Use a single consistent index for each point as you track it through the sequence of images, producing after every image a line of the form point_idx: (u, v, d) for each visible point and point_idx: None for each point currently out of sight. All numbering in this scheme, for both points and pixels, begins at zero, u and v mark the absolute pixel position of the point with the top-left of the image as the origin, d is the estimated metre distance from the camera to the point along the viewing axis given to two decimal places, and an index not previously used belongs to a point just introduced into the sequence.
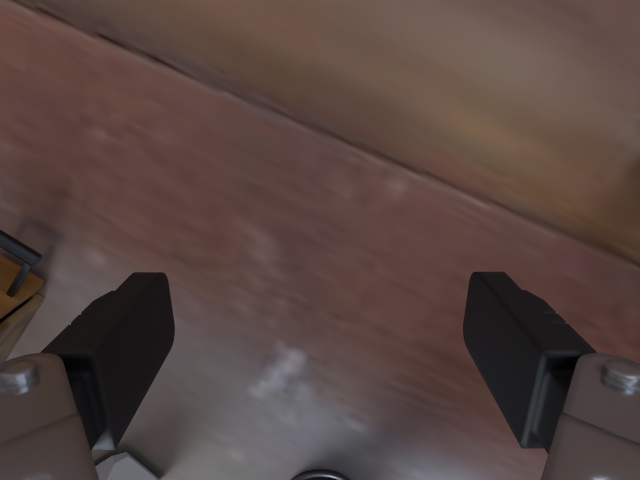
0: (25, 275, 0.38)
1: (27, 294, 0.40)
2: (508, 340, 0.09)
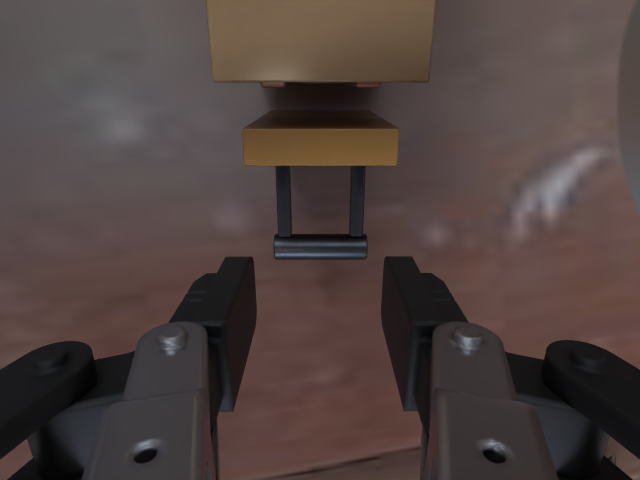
0: None
1: None
2: (398, 315, 0.10)
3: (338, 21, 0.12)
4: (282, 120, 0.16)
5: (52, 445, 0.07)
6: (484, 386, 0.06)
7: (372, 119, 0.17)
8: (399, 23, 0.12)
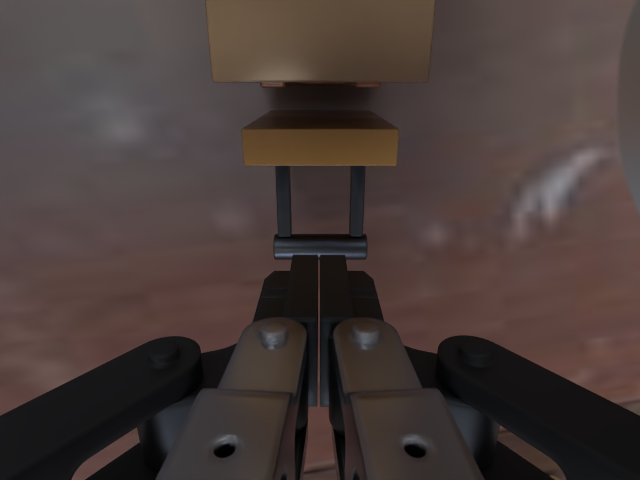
0: None
1: None
2: None
3: (337, 21, 0.12)
4: (282, 120, 0.16)
5: (166, 438, 0.07)
6: (365, 380, 0.06)
7: (372, 119, 0.16)
8: (398, 23, 0.12)
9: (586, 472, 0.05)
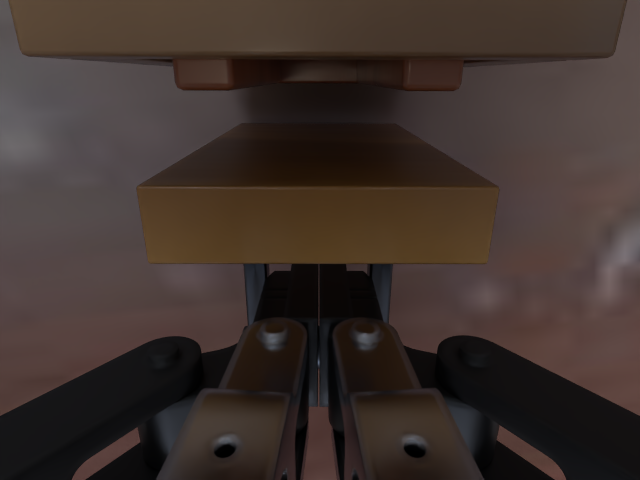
0: None
1: None
2: None
3: None
4: (245, 151, 0.08)
5: (167, 438, 0.07)
6: (364, 380, 0.06)
7: (414, 148, 0.09)
8: None
9: (586, 472, 0.05)
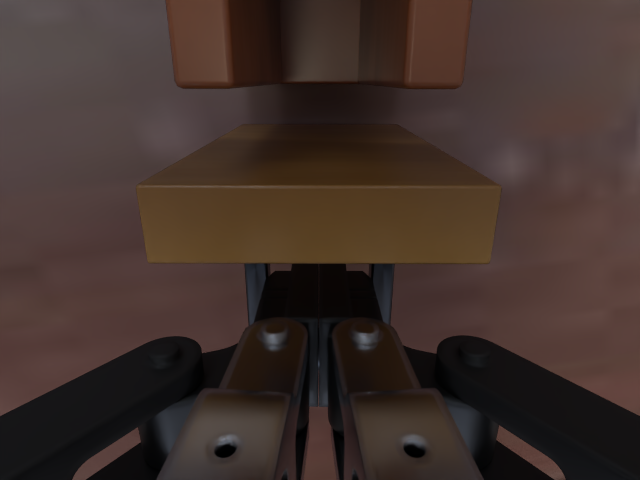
0: None
1: None
2: None
3: None
4: (246, 151, 0.08)
5: (167, 438, 0.07)
6: (363, 380, 0.06)
7: (416, 148, 0.09)
8: None
9: (585, 472, 0.05)
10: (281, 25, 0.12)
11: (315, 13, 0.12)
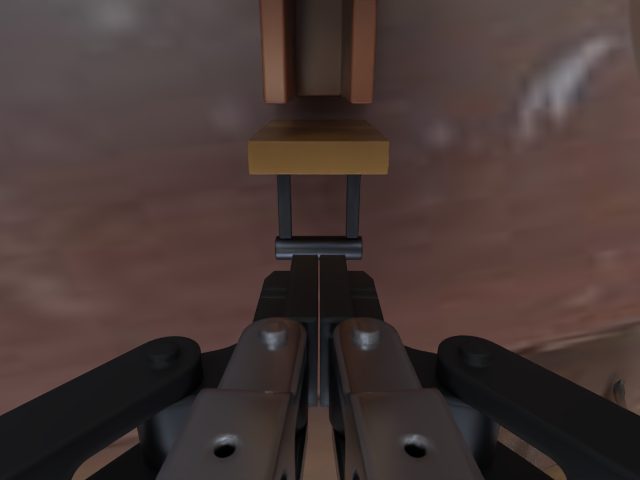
0: (278, 212, 0.20)
1: None
2: None
3: None
4: (283, 131, 0.17)
5: (166, 438, 0.07)
6: (365, 380, 0.06)
7: (366, 130, 0.18)
8: None
9: (586, 472, 0.05)
10: (297, 64, 0.21)
11: (316, 57, 0.21)
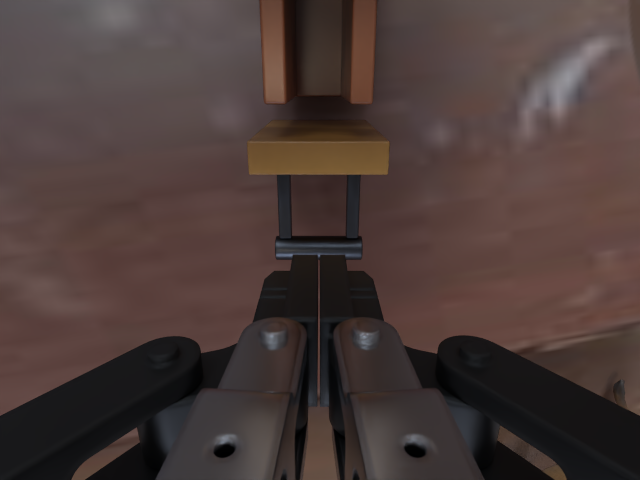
0: (278, 212, 0.20)
1: None
2: None
3: None
4: (283, 131, 0.17)
5: (166, 438, 0.07)
6: (365, 380, 0.06)
7: (366, 130, 0.18)
8: None
9: (586, 472, 0.05)
10: (297, 64, 0.21)
11: (316, 57, 0.21)
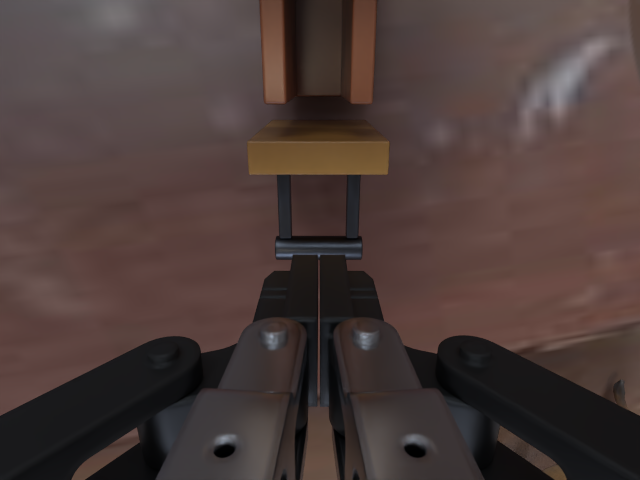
0: (278, 212, 0.20)
1: None
2: None
3: None
4: (283, 131, 0.17)
5: (166, 438, 0.07)
6: (365, 380, 0.06)
7: (366, 130, 0.18)
8: None
9: (586, 472, 0.05)
10: (297, 64, 0.21)
11: (316, 57, 0.21)
